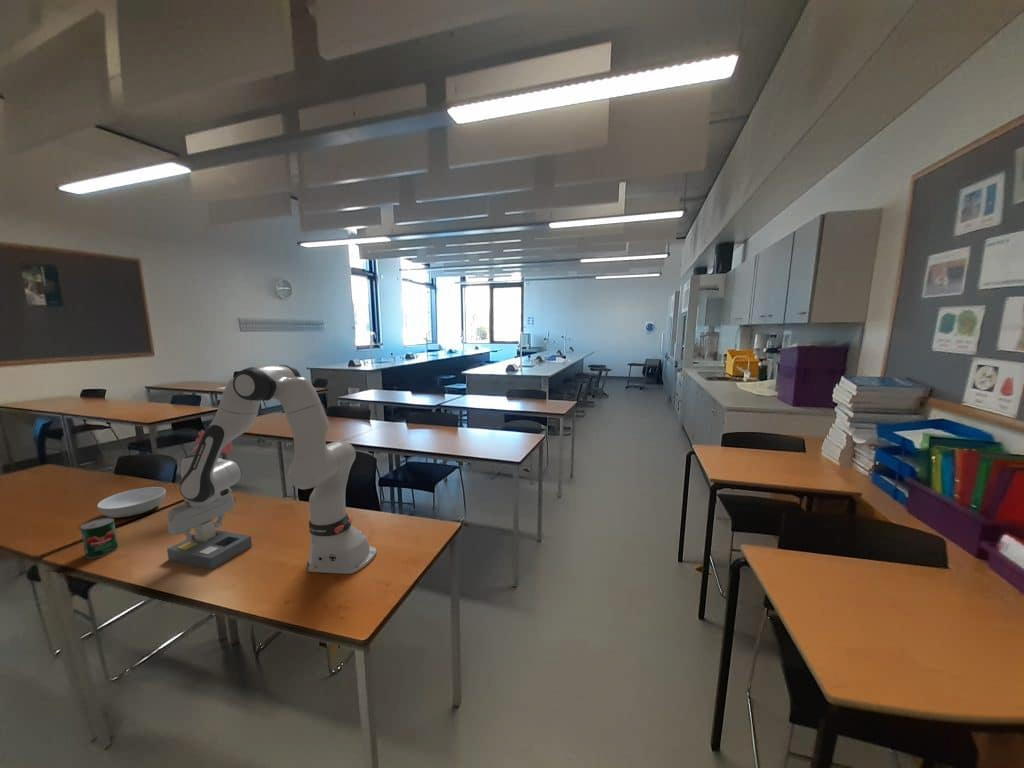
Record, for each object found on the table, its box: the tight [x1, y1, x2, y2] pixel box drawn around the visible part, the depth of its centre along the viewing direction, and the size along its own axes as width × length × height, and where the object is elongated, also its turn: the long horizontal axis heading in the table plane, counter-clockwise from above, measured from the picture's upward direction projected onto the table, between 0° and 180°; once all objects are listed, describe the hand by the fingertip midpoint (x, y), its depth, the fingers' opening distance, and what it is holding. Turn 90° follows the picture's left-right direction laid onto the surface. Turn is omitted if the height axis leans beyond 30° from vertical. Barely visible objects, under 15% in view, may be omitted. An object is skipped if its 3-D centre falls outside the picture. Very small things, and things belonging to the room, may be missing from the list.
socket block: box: [166, 528, 253, 571], centre depth 131 cm, size 20×14×4 cm
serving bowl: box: [96, 486, 167, 518], centre depth 161 cm, size 21×21×7 cm
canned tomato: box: [80, 517, 119, 559], centre depth 131 cm, size 8×8×11 cm
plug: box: [193, 519, 216, 542], centre depth 134 cm, size 4×4×10 cm
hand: (205, 533), depth 134 cm, fingers open, 8 cm apart
